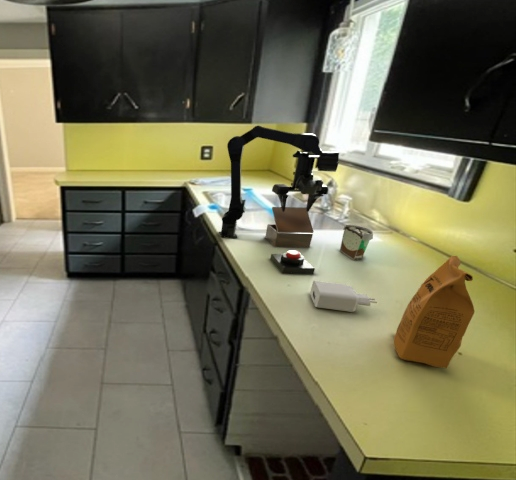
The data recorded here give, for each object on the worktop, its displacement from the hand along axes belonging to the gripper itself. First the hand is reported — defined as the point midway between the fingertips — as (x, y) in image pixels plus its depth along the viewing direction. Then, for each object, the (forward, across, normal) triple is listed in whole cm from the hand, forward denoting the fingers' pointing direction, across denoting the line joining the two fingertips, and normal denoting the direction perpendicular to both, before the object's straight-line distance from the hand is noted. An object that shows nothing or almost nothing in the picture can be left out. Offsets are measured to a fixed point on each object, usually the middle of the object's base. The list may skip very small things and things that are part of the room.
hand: (295, 211), depth 140 cm
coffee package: (+14, 0, -71) cm, 72 cm away
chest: (+13, 0, +1) cm, 13 cm away
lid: (+4, 0, +1) cm, 4 cm away
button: (+9, -9, -24) cm, 27 cm away
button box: (+13, -9, -24) cm, 29 cm away
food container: (+13, +19, -12) cm, 26 cm away
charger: (+13, -6, -50) cm, 52 cm away
